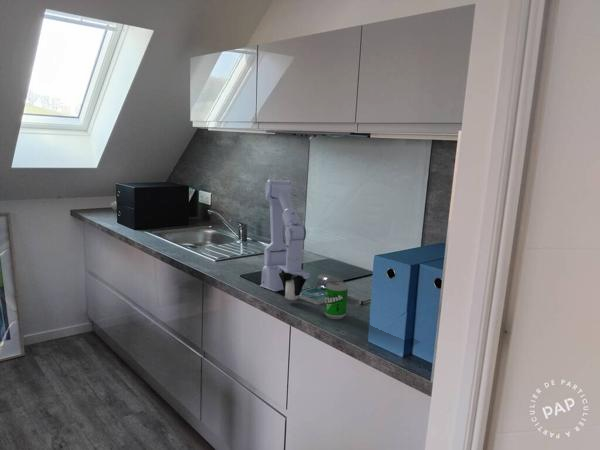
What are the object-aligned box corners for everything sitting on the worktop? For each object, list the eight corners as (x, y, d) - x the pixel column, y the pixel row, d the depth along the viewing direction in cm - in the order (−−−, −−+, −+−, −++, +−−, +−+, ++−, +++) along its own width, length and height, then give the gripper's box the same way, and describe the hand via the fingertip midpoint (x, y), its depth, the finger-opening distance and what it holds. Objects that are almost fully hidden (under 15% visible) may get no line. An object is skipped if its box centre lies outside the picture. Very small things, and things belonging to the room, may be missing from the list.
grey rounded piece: (282, 297, 169) (283, 281, 168) (294, 293, 174) (295, 278, 173) (291, 300, 166) (292, 284, 165) (304, 297, 171) (305, 281, 170)
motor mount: (295, 297, 177) (296, 278, 175) (325, 288, 190) (327, 271, 188) (319, 305, 168) (320, 286, 167) (348, 296, 182) (350, 278, 180)
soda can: (332, 310, 164) (334, 278, 162) (349, 316, 159) (352, 283, 157) (319, 315, 158) (321, 282, 156) (336, 321, 153) (339, 287, 151)
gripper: (272, 255, 169) (270, 290, 171) (301, 263, 159) (298, 300, 162) (285, 252, 174) (284, 286, 176) (314, 260, 164) (312, 296, 167)
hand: (291, 293), depth 169 cm, fingers closed on grey rounded piece, 5 cm apart
